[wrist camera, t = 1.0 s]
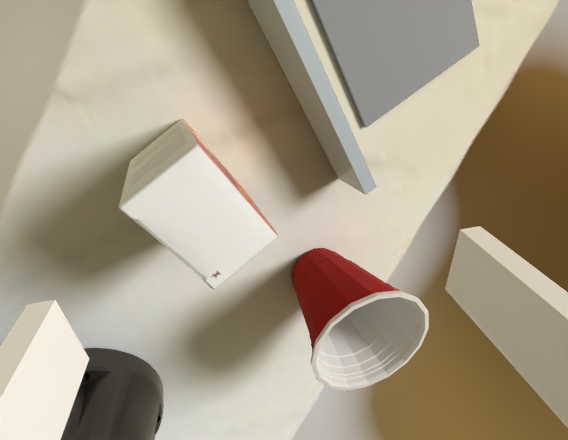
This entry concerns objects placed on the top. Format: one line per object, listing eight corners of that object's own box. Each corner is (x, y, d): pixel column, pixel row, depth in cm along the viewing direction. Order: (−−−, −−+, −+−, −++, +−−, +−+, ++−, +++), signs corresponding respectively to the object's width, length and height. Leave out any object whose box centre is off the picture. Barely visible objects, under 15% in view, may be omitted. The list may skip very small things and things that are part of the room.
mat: (363, 126, 32) (366, 127, 32) (297, -32, 25) (299, -33, 25) (476, 45, 33) (479, 45, 33) (443, -131, 26) (447, -134, 26)
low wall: (338, 178, 34) (365, 194, 30) (224, -43, 23) (241, -67, 19) (347, 171, 34) (376, 186, 30) (238, -52, 23) (259, -78, 19)
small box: (243, 187, 31) (282, 238, 22) (195, 226, 31) (215, 293, 22) (182, 114, 26) (199, 140, 18) (127, 159, 26) (116, 209, 17)
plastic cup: (247, 290, 35) (288, 381, 25) (311, 209, 34) (380, 271, 24) (315, 323, 41) (371, 409, 31) (372, 255, 40) (450, 321, 30)
